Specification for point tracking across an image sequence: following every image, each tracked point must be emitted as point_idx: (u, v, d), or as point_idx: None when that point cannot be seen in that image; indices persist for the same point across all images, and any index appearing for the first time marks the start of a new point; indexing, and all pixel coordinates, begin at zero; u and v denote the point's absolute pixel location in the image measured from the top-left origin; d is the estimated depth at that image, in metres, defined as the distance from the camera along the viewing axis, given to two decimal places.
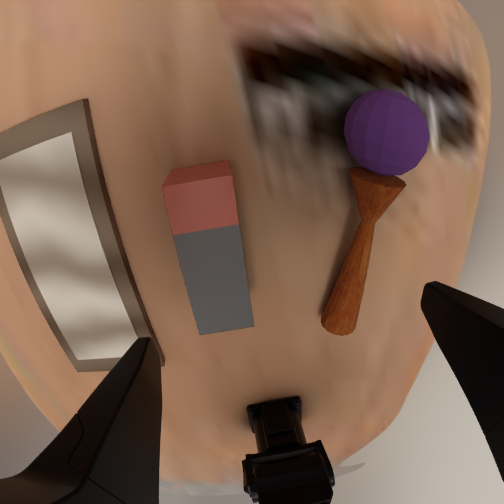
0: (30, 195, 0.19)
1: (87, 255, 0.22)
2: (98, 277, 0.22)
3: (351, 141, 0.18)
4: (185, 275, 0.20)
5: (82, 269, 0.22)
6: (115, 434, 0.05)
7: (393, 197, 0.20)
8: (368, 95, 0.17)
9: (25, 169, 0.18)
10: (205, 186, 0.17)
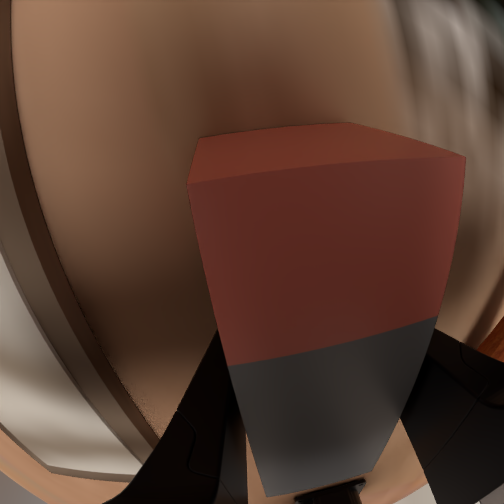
0: None
1: (14, 341, 0.08)
2: (46, 380, 0.09)
3: None
4: (256, 441, 0.06)
5: (14, 363, 0.09)
6: (228, 427, 0.05)
7: None
8: None
9: None
10: (382, 189, 0.04)
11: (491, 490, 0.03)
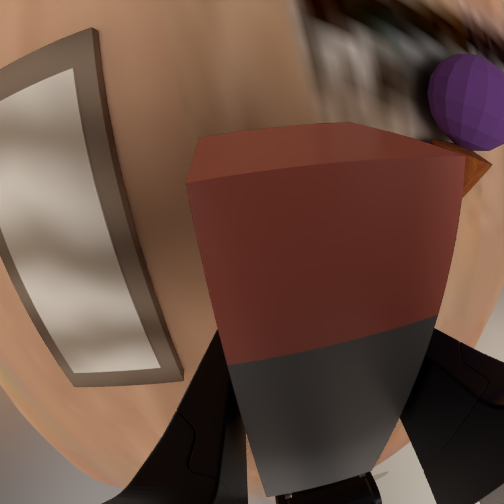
0: (13, 157, 0.13)
1: (85, 236, 0.16)
2: (100, 267, 0.17)
3: (444, 102, 0.13)
4: (255, 440, 0.06)
5: (78, 256, 0.16)
6: (228, 427, 0.05)
7: (481, 175, 0.14)
8: (460, 56, 0.12)
9: (9, 122, 0.12)
10: (382, 189, 0.04)
11: (491, 490, 0.03)
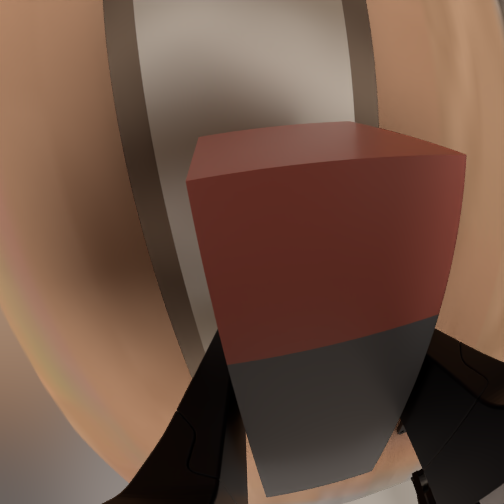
0: None
1: None
2: None
3: None
4: (255, 440, 0.06)
5: None
6: (228, 427, 0.05)
7: None
8: None
9: None
10: (382, 187, 0.04)
11: (491, 490, 0.03)
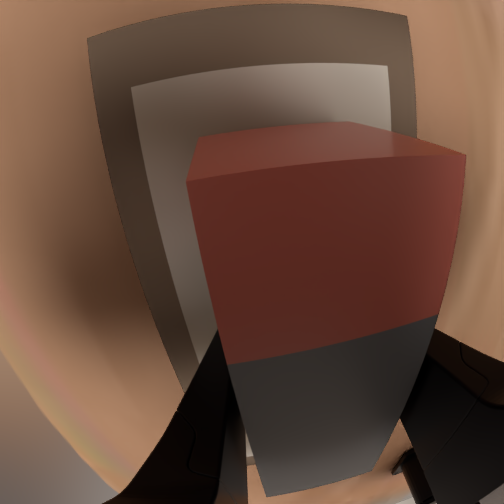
0: None
1: None
2: None
3: None
4: (255, 440, 0.06)
5: None
6: (228, 427, 0.05)
7: None
8: None
9: (244, 117, 0.08)
10: (382, 187, 0.04)
11: (491, 490, 0.03)
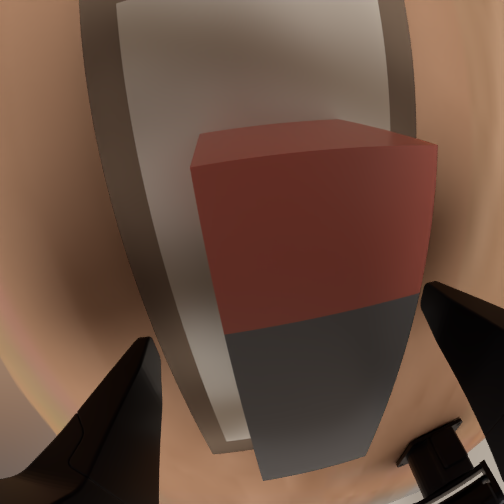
0: (231, 96, 0.08)
1: None
2: None
3: None
4: (251, 415, 0.07)
5: None
6: (115, 434, 0.05)
7: None
8: None
9: (229, 26, 0.07)
10: (359, 173, 0.04)
11: None
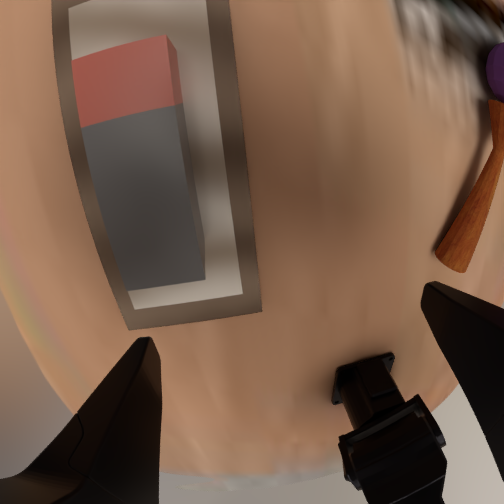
0: None
1: (192, 132, 0.16)
2: (202, 167, 0.17)
3: (503, 71, 0.13)
4: (98, 191, 0.12)
5: None
6: (115, 434, 0.05)
7: None
8: None
9: (119, 13, 0.12)
10: (127, 52, 0.09)
11: None
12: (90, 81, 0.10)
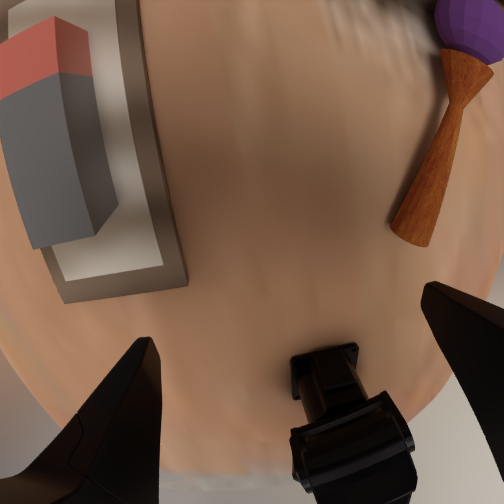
0: None
1: (101, 103, 0.15)
2: (111, 134, 0.16)
3: (448, 15, 0.12)
4: (6, 155, 0.11)
5: None
6: (115, 434, 0.05)
7: (485, 80, 0.13)
8: None
9: (45, 8, 0.11)
10: (27, 36, 0.09)
11: None
12: (1, 64, 0.09)
